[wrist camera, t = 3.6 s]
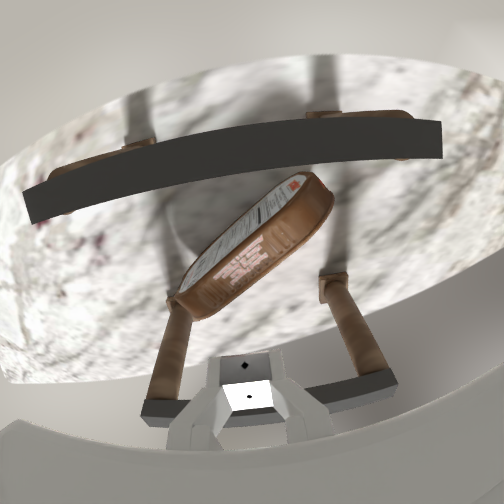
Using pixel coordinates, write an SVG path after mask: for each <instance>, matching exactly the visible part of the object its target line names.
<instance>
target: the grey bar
mask: <svg viewBox="0 0 504 504" xmlns="http://www.w3.org/2000/svg"><path fill="white" fill-rule="evenodd" d="M378 159H443V150H442V125H441V121H434V120H423V119H411V118H393V117H328V118H310V119H296V120H285V121H275V122H266V123H258V124H251V125H244V126H237V127H231V128H225V129H219V130H214V131H208V132H203V133H198V134H193V135H189V136H184V137H180V138H175V139H171V140H167V141H163V142H159V143H155V144H151V145H148V146H144V147H140V148H137V149H133V150H130V151H127V152H123V153H120V154H117V155H114V156H111V157H108V158H105V159H102V160H99V161H96V162H93V163H90V164H87V165H85V166H82V167H79V168H77V169H74V170H71V171H69V172H66V173H64V174H61V175H59V176H56V177H54V178H52V179H49V180H47V181H45V182H42V183H40V184H38V185H36V186H34V187H32V188H29V189H27V190H25V191H23V192H22V193H23V197H24V200H25V204H26V207H27V211H28V214H29V217H30V220H31V223H32V224H35V223H38V222H41V221H44V220H47V219H50V218H53V217H56V216H59V215H62V214H65V213H69V212H72V211H75V210H78V209H82V208H85V207H89V206H92V205H96V204H99V203H103V202H106V201H110V200H114V199H118V198H122V197H126V196H130V195H134V194H138V193H142V192H146V191H150V190H155V189H159V188H164V187H168V186H173V185H178V184H183V183H188V182H193V181H198V180H204V179H209V178H215V177H220V176H226V175H232V174H239V173H245V172H252V171H259V170H266V169H274V168H282V167H290V166H299V165H309V164H319V163H331V162H343V161H359V160H378Z"/></svg>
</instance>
